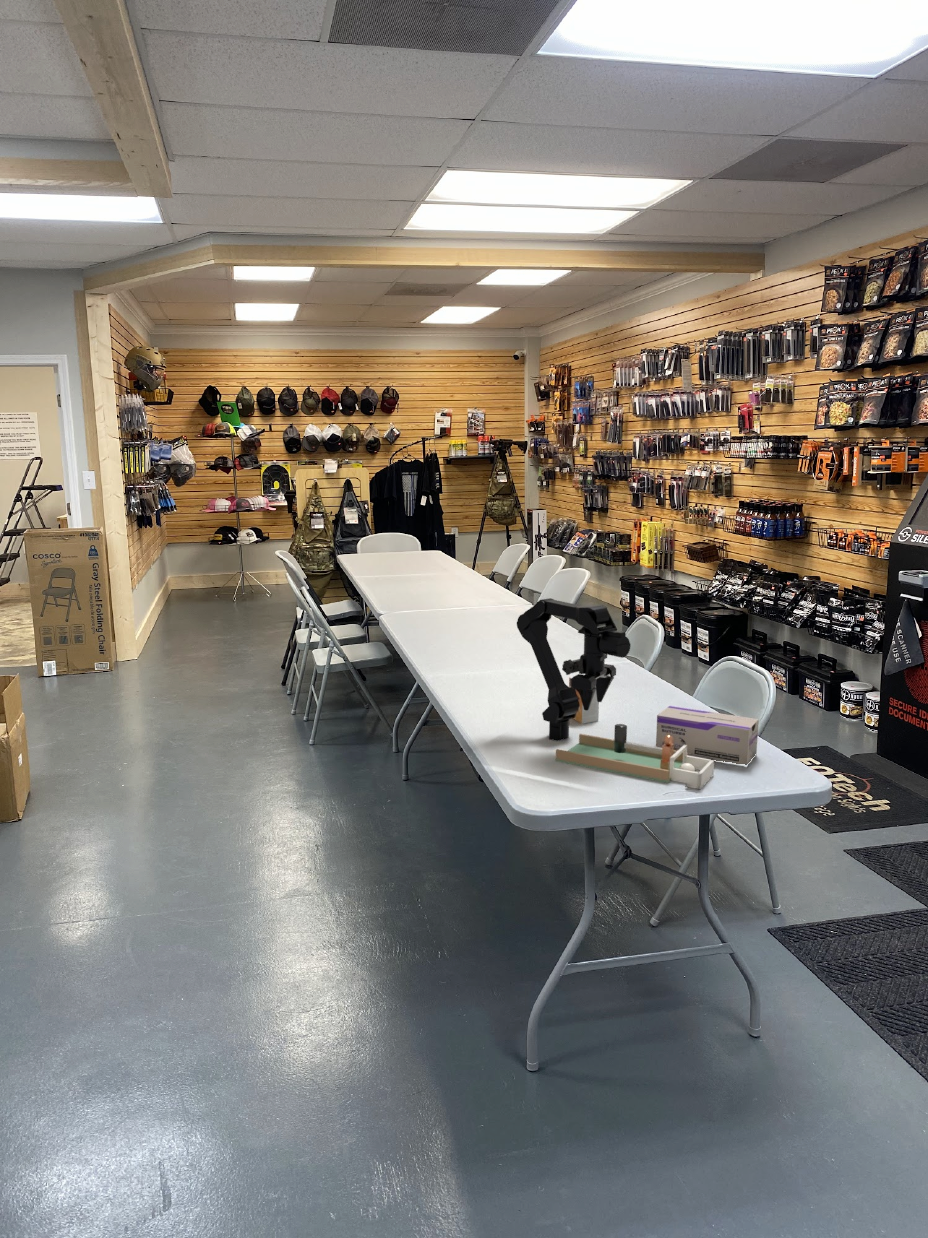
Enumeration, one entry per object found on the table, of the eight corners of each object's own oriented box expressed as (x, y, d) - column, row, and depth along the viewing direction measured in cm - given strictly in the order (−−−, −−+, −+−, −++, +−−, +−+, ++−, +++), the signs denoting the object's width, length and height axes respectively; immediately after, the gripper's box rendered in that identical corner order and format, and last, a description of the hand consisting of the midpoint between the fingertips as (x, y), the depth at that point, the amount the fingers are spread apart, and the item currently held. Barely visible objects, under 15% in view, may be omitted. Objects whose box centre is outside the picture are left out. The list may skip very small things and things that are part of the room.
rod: (617, 754, 239) (618, 722, 238) (675, 765, 231) (676, 732, 230) (610, 760, 235) (611, 727, 233) (668, 771, 227) (670, 737, 225)
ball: (692, 778, 229) (679, 770, 230) (699, 766, 227) (686, 758, 229) (687, 783, 225) (674, 774, 227) (695, 771, 224) (681, 762, 225)
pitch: (580, 747, 251) (580, 733, 250) (687, 767, 235) (688, 752, 235) (555, 764, 238) (555, 750, 237) (667, 786, 222) (668, 771, 221)
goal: (683, 769, 234) (684, 744, 232) (713, 775, 230) (714, 749, 228) (668, 783, 224) (670, 757, 223) (700, 789, 220) (701, 763, 219)
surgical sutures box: (655, 752, 248) (657, 715, 246) (668, 741, 257) (669, 705, 255) (746, 768, 235) (749, 729, 233) (756, 756, 244) (758, 719, 242)
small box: (567, 717, 280) (568, 676, 277) (584, 714, 282) (585, 674, 280) (581, 724, 272) (582, 683, 270) (599, 721, 275) (600, 680, 272)
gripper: (581, 641, 255) (579, 694, 258) (552, 654, 239) (552, 710, 242) (617, 646, 249) (616, 699, 252) (591, 659, 233) (589, 716, 236)
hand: (592, 706), depth 246 cm, fingers open, 9 cm apart
